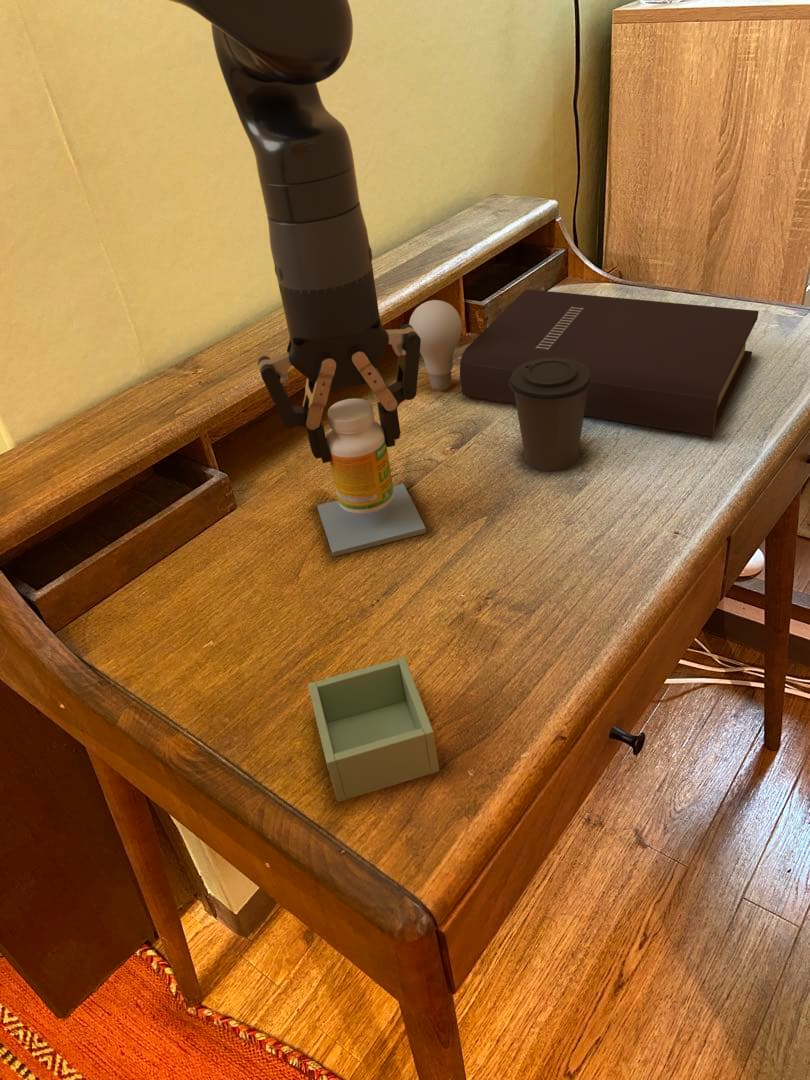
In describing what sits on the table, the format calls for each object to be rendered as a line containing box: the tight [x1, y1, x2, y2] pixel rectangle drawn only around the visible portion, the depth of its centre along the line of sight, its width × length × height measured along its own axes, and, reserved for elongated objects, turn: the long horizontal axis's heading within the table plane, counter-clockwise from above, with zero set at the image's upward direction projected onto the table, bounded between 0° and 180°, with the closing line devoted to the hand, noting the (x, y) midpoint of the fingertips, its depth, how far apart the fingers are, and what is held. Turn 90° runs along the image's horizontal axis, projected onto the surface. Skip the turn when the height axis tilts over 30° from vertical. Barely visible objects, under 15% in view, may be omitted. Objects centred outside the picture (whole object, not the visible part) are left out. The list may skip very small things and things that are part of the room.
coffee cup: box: [508, 358, 593, 472], centre depth 82 cm, size 8×8×10 cm
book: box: [459, 288, 759, 438], centre depth 94 cm, size 28×20×6 cm
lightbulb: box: [408, 299, 463, 392], centre depth 95 cm, size 6×6×11 cm
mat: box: [316, 483, 427, 558], centre depth 79 cm, size 9×8×1 cm
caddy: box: [307, 656, 440, 803], centre depth 57 cm, size 7×7×4 cm
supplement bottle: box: [325, 398, 394, 514], centre depth 75 cm, size 5×5×10 cm
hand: (356, 449), depth 75 cm, fingers closed on supplement bottle, 5 cm apart
